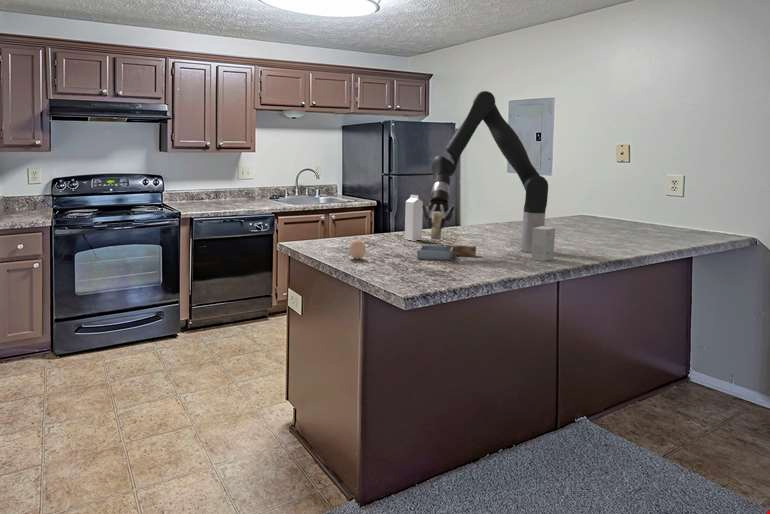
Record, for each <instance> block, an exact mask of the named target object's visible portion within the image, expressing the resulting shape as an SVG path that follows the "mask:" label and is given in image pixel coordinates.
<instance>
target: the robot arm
mask: <svg viewBox="0 0 770 514" xmlns="http://www.w3.org/2000/svg"><path fill="white" fill-rule="evenodd" d="M467 113H468V114H467V116H466V117H465V118H464V120H463V122H462V123H461V124H460V126H459V127H458V129H457V130H456V132H454V134H453V136H452V137H451V139H450V140H449V142H448V143H447V145H446V148H445V150H446V152H447V154H448V155H450V159H448V158H447V157H445V156H443V155H436V156H435V157H433V160H432V162H431V172H432V178H433V183H432V188H431V193H430V201H429V204H428V205H427V206H426V205H424V204H423V206H422V210H423V217H424V220H425V221H428V223H427V227H428V228H429V229H431V227H432V212H442V220H441V230H442V229H443V230H444V228H445V226H446V225H445V223H446V222H450V221H451V219H452V217H453V216H454V214H455V212H456V211H455V206H452V207H451V206H449V199H450V186H451V185H450V184H451V177H452V176H453V175H454V173H456V169H457V166H458V163H459V160H460V157H461V155H462V153H463V152H464V150H466V149H465V148H466V146H467V145H468V144H469V142H470V140H471V139H472V137H473V135H474V133H475V132H476V130H477V129H478V127H479V125H480V124H481V123H482V121H483V122H484V123H485V125H486V127H487V128H488V130H489V132H490V134H491V136H492V138H493V140H494V142H495V144H496V145H497V147H498V149H499V150H500V152H501V154H502V155H503V157H504V158H505V159H506V160H507V162H508V164H509V165H510V166H511V168H513V169H514V171H515V173H516V174H517V176H518V178H519V180H520V181H521V184H522V186H523V188H524V190H525V200H524V205H523V216H522V217H523V218H522V229H521V230H522V232H521V246H520V247H521V249H520V251H521V252H525V253H530V254H531V253H532V236H533V228H536V227H541V226H544V227H545V225H546V224H545V223H546V222H545V221H546V210H547V205H548V194H549V183H548V182H549V181H548V180H547V179H546V178H545V177H544V176H542V175H541V174H540V173H539V172H538V171H537V169H536V168H535V167H534V165H533V163H532V162H531V161H530V158H529V156H528V153H527V150H526V148H525V146H524V144H523V142H522V141H521V138H519V136H518V134H517V132H516V131H515V130H514V129H513V128H512V126H511V125H509V123H508V122H507V121H506V120H505V119H504V118H503V116H502V114H501V113H500V111H499V109H498V107H497V105H496V98H495V96H494V94H493V93H492V92H491V91H488V90H483V91H479V92H478V93H477V94H476V95H475V96H474V98H473V100H472V105H471V107H470V109H469V111H468V112H467ZM428 211H430V213H429V215H428ZM446 212H448V213H447V215H446V214H445V213H446Z"/></svg>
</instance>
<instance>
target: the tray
mask: <svg viewBox="0 0 770 514" xmlns="http://www.w3.org/2000/svg"><path fill="white" fill-rule="evenodd" d="M452 256H453V257H454V255H453V247H451V249H450V252H447V245H429V244H428V245H427V244H426V245H425V244H423V245H421V246H419V248H418V249H417V260H431V261H448V260H450V262H451V261H452V260H453V257H452Z"/></svg>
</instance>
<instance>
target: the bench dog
mask: <svg viewBox="0 0 770 514" xmlns="http://www.w3.org/2000/svg"><path fill="white" fill-rule="evenodd" d="M446 246H447V252H450V249H451V247H453V256H454V255H461V256H460V257H474V256H475V257H476V256H477V255H476V254H477V253H476V252H477V245H466V244H465V245H464V244H463V245H462V244H446Z"/></svg>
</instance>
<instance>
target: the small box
mask: <svg viewBox="0 0 770 514" xmlns="http://www.w3.org/2000/svg"><path fill="white" fill-rule="evenodd" d="M555 236H556V227H552V226H545V225H544V226H541V227H536V228H533V236H532V253H531V252H530V255H531V256H530V257H531V258H530V259H531V260H532V259H533V260H534V261H539V262H547V261H550V260H553V259H554V252H555V238H556V237H555Z"/></svg>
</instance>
